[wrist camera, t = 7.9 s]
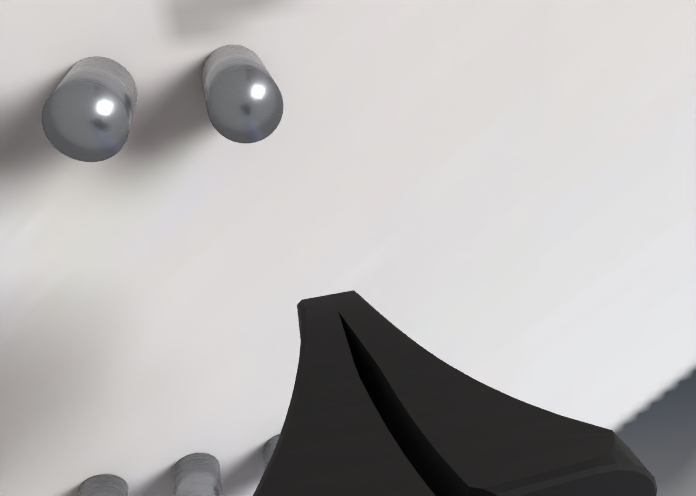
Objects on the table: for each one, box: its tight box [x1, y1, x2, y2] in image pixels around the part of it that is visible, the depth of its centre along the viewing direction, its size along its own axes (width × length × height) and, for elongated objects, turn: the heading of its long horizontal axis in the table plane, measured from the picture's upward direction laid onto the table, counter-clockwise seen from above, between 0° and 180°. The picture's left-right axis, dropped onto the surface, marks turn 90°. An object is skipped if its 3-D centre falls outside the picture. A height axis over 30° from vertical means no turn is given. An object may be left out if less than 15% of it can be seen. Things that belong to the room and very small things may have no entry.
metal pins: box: [42, 45, 283, 496], centre depth 20 cm, size 19×10×4 cm, turn 2°
